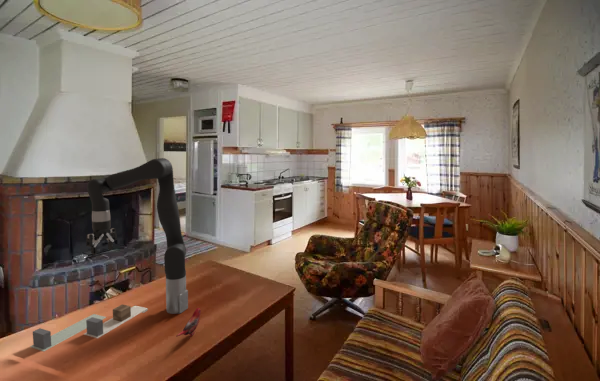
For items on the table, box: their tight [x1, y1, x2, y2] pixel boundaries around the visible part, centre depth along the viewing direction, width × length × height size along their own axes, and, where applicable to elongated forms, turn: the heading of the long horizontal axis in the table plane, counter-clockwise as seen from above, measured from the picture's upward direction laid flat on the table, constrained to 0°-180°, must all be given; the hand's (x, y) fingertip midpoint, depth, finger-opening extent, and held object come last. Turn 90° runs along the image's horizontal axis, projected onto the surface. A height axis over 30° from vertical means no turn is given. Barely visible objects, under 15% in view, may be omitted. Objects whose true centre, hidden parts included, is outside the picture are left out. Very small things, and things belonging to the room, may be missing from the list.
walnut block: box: [112, 304, 131, 322], centre depth 138 cm, size 5×5×5 cm
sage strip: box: [29, 313, 107, 352], centre depth 127 cm, size 8×26×7 cm, turn 162°
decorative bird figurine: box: [176, 307, 202, 338], centre depth 126 cm, size 3×18×10 cm, turn 167°
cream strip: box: [83, 305, 149, 339], centre depth 136 cm, size 8×26×7 cm, turn 162°
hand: (102, 251), depth 147 cm, fingers open, 8 cm apart
